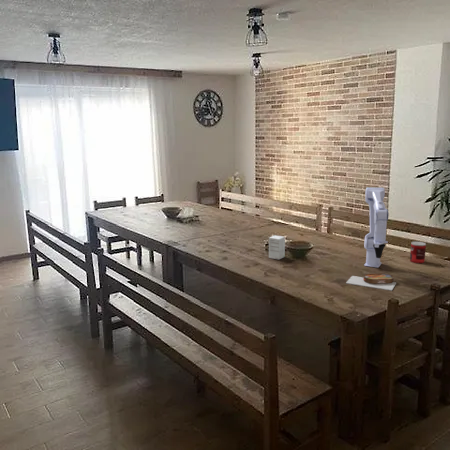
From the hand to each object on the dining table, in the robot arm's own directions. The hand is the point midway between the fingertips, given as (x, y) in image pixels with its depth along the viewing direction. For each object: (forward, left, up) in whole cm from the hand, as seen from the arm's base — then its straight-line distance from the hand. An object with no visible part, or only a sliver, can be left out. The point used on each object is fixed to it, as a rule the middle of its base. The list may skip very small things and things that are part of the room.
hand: (378, 257), depth 236 cm
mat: (+15, 0, -9) cm, 18 cm away
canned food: (-35, +15, -10) cm, 39 cm away
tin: (+8, 0, -8) cm, 11 cm away
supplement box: (-5, -60, -10) cm, 61 cm away
